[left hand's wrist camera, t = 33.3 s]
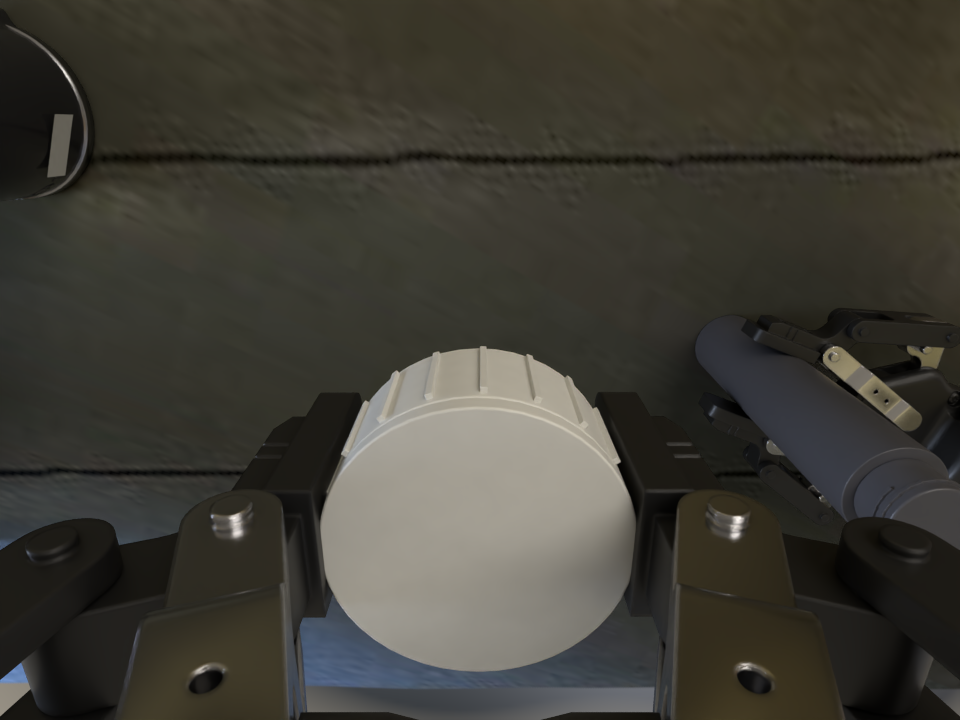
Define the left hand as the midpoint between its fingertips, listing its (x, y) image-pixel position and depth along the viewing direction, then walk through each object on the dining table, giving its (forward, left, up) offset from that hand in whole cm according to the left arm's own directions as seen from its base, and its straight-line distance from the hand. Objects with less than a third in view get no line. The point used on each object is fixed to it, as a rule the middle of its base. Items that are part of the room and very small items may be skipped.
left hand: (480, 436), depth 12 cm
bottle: (+14, +12, -27) cm, 33 cm away
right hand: (+12, +10, -21) cm, 26 cm away
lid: (0, 0, +3) cm, 3 cm away
